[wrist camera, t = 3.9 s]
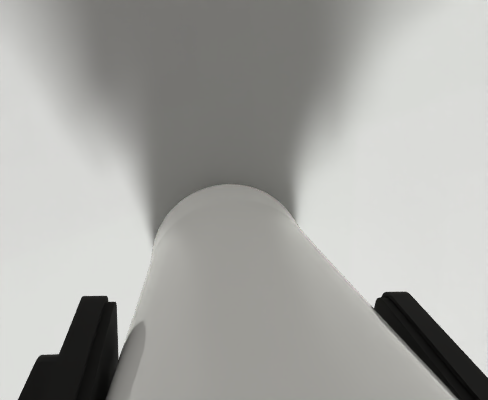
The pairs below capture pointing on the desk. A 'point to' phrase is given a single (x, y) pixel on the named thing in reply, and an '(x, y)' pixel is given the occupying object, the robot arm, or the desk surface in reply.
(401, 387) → the drinking glass
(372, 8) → the desk surface
